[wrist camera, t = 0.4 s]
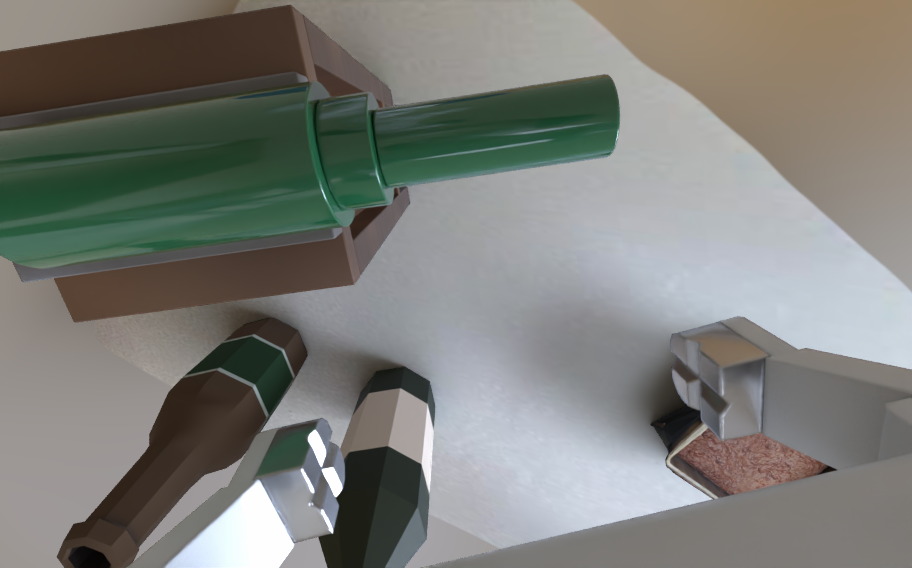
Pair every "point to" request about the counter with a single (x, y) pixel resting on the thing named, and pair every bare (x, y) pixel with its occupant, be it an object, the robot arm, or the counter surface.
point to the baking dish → (729, 457)
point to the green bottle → (269, 163)
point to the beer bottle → (191, 440)
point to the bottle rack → (183, 78)
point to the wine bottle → (385, 474)
